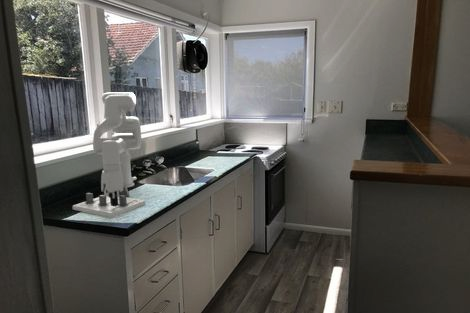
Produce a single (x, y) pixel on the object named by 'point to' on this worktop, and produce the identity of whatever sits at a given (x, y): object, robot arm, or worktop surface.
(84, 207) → the white base plate
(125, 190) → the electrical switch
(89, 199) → the breaker
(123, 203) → the cylinder
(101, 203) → the breaker
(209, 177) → the worktop surface
